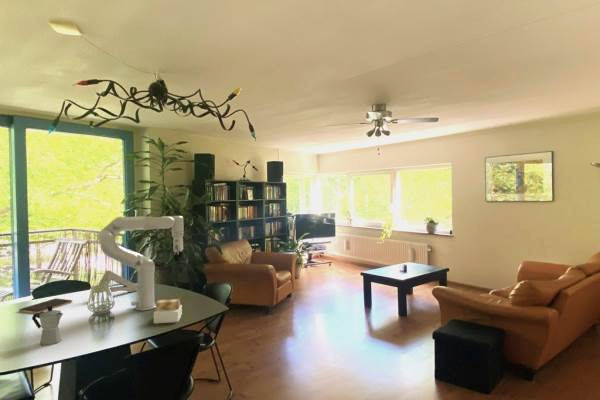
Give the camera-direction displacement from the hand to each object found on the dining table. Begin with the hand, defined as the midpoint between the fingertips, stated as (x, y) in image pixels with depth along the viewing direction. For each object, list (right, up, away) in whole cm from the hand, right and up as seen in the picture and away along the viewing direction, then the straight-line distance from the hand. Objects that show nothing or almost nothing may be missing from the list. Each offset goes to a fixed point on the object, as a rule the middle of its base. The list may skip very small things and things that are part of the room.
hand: (178, 259), depth 235 cm
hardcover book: (-82, -30, -9) cm, 88 cm away
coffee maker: (-42, -30, -64) cm, 82 cm away
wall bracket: (-49, -29, +15) cm, 59 cm away
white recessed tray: (+6, -29, -33) cm, 44 cm away
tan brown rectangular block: (+6, -27, -33) cm, 43 cm away
